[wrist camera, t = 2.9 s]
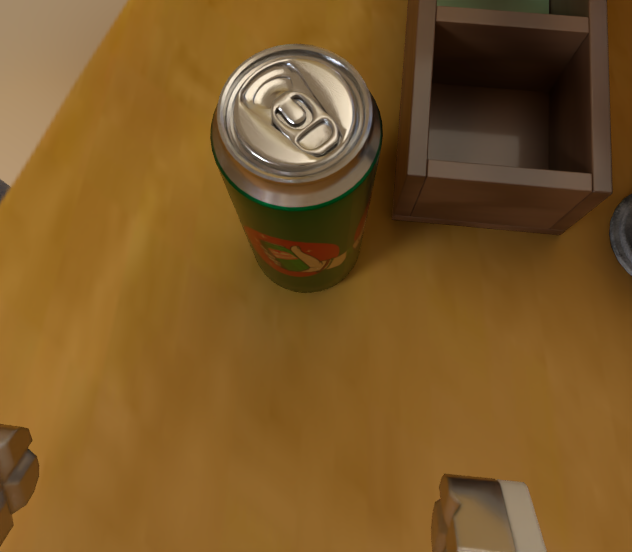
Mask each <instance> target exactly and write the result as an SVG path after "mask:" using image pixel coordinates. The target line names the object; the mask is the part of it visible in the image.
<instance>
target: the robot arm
mask: <svg viewBox="0 0 632 552" xmlns="http://www.w3.org/2000/svg"><path fill="white" fill-rule="evenodd" d="M31 442H32V438H31V435H30V432H29V429H28V428H24V427H18V426H11V425H4V424H0V546H1V545H2V543H3V541H4V540H5V538H6V537H7V535H8V533H9V532H10V530H11V529H12V527H13V518H12V514H13V513H15V512H16V511H18V510H19V509H21V508H22V507H24V506H25V505H26V504H27V503H28V501H29V499H30V498H31V496H32V494H33V493H34V490H35V487H36V484H37V481H38V477H39V463H38V459H37V456H36V455H35V454H34V453H32V452H31V451H30V450H29V449H28V446H29V445H30V444H31ZM439 490H440V499H439V500H438V501H436V502H435V505H434V509H433V514H432V524H431V542H432V552H547V551H546V547H545V544H544V540H543V537H542V534H541V530H540V527H539V524H538V520H537V517H536V513H535V510H534V507H533V503H532V500H531V497H530V493H529V490H528V487H527V486H526V484H525V483H524V482H516V481H506V480H495V479H492V478H482V477H472V476H462V475H452V474H444V475H443V476H442V478H441V482H440V485H439Z"/></svg>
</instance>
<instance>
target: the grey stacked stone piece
mask: <svg viewBox="0 0 632 552" xmlns="http://www.w3.org/2000/svg"><path fill="white" fill-rule="evenodd" d="M609 235H610V240H611V245H612V249H613V251H614V253H615V255H616V257H617V259H618V261H619V263H620V264H621V265H622V266H623V267H624V269H625V270H626V271H627V272H628V273H629V274H630V275H631V276H632V194H630V195H629V196H627V197H626V198H624V199H623V200H622V202H621V203H620V204H619V205H618V206H617V208H616V209H615V211H614V214H613V216H612V219H611V222H610V233H609Z"/></svg>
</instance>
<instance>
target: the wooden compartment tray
mask: <svg viewBox="0 0 632 552" xmlns="http://www.w3.org/2000/svg"><path fill="white" fill-rule="evenodd" d="M611 194H612V159H611V125H610V92H609V58H608V25H607V0H408V10H407V23H406V37H405V50H404V64H403V77H402V90H401V104H400V117H399V131H398V144H397V157H396V171H395V184H394V198H393V211H392V219H393V220H403V221H414V222H425V223H436V224H447V225H457V226H468V227H479V228H490V229H501V230H512V231H522V232H533V233H544V234H555V235H561V234H562V233H563V232H565V230H567V229H568V228H569V227H571V226H572V225H573V224H575V223H576V222H577V221H578V220H580V219H581V218H582V217H583V216H585V215H586V214H587V213H588V212H590V211H591V210H592V209H593V208H595V207H596V206H597V205H598V204H600V203H601V202H602V201H603V200H605V199H606V198H607V197H608V196H610V195H611Z"/></svg>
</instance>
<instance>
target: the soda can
mask: <svg viewBox="0 0 632 552" xmlns="http://www.w3.org/2000/svg"><path fill="white" fill-rule="evenodd" d="M382 137H383V131H382V120H381V116H380V111H379V109H378V106H377V104H376V101H375V99H374V98H373V96H372V95H371V93H370V91H369V90H368V88H367V86H366V84H365V82H364V80H363V79H362V77H361V76H360V74H359V73H358V72H357V71H356V69H355V68H354V67H353V66H352V65H351V64H349V63H348V62H347V61H346V60H345V59H343V58H342V57H340V56H338V55H337V54H335V53H333V52H331V51H328V50H326V49H324V48H320V47H316V46H312V45H305V44H287V45H280V46H275V47H272V48H269V49H265V50H263V51H261V52H259V53H257V54H255V55H253V56H252V57H250V58H248V59H247V60H245V61H244V62H243V63H242V64H241V65H240V66H238V67H237V68H236V69H235V71H234V72H233V73H232V74H231V75H230V77H229V78H228V80H227V81H226V83H225V85H224V87H223V89H222V92H221V94H220V97H219V102H218V104H217V107H216V109H215V112H214V114H213V119H212V123H211V136H210V139H211V146H212V152H213V155H214V158H215V161H216V164H217V166H218V169H219V171H220V174H221V176H222V178H223V181H224V183H225V186H226V188H227V190H228V193H229V195H230V198H231V200H232V202H233V205H234V207H235V210H236V212H237V214H238V217H239V219H240V222H241V224H242V226H243V229H244V231H245V234H246V236H247V238H248V241H249V243H250V246H251V248H252V250H253V253H254V255H255V258H256V260H257V262H258V264H259V266H260V268H261V269H262V271H263V272H264V273H265V275H266V276H267V277H268V278H269V279H271V280H272V281H273V282H274V283H276V284H277V285H279V286H281V287H283V288H285V289H288V290H291V291H294V292H301V293H312V292H318V291H322V290H325V289H328V288H330V287H332V286H334V285H336V284H337V283H339V282H340V281H341V280H343V279H344V278H345V277H346V276H347V275H348V274H349V272H350V271H351V270H352V268H353V267H354V265H355V263H356V261H357V258H358V255H359V252H360V247H361V242H362V237H363V233H364V228H365V223H366V218H367V213H368V209H369V204H370V199H371V194H372V189H373V185H374V180H375V175H376V170H377V165H378V161H379V156H380V151H381V145H382Z"/></svg>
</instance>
